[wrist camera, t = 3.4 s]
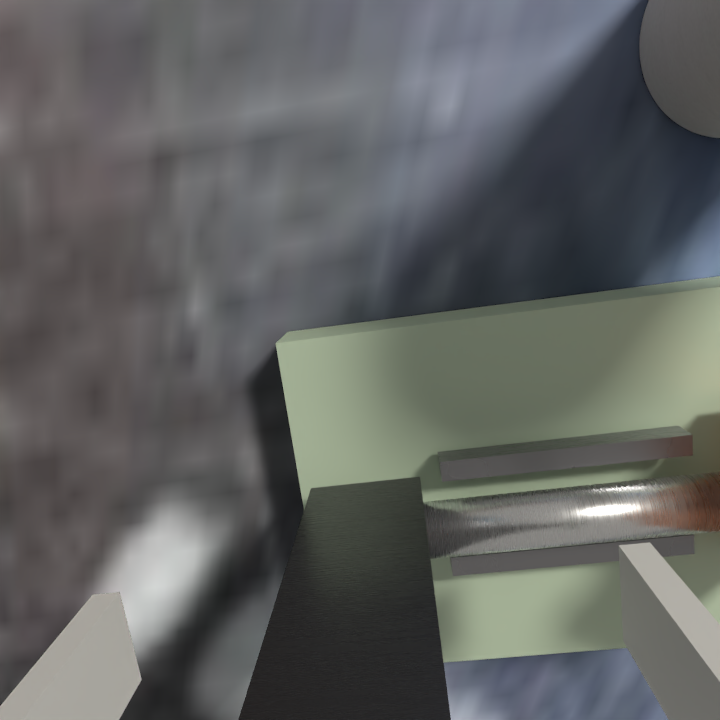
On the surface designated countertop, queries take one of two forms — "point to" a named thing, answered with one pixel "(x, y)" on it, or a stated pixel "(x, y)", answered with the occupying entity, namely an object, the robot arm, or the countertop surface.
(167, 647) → the countertop surface
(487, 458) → the rail guide
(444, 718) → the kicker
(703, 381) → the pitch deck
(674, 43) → the coffee cup
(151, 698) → the countertop surface
